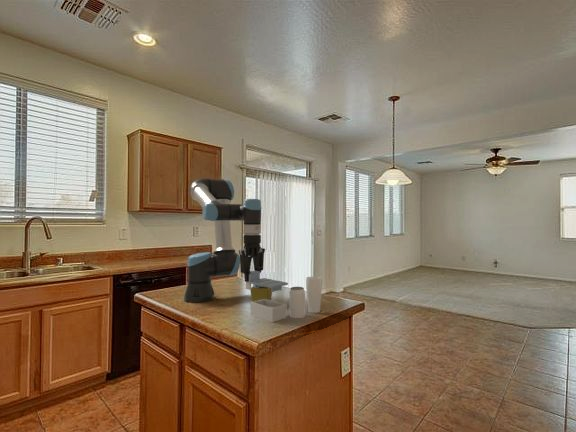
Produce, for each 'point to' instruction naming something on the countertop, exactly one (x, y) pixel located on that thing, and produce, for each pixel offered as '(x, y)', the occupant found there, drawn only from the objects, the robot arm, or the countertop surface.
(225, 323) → the countertop surface
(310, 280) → the drinking glass
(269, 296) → the flower pot
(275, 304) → the tub
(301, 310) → the can
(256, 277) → the lid
